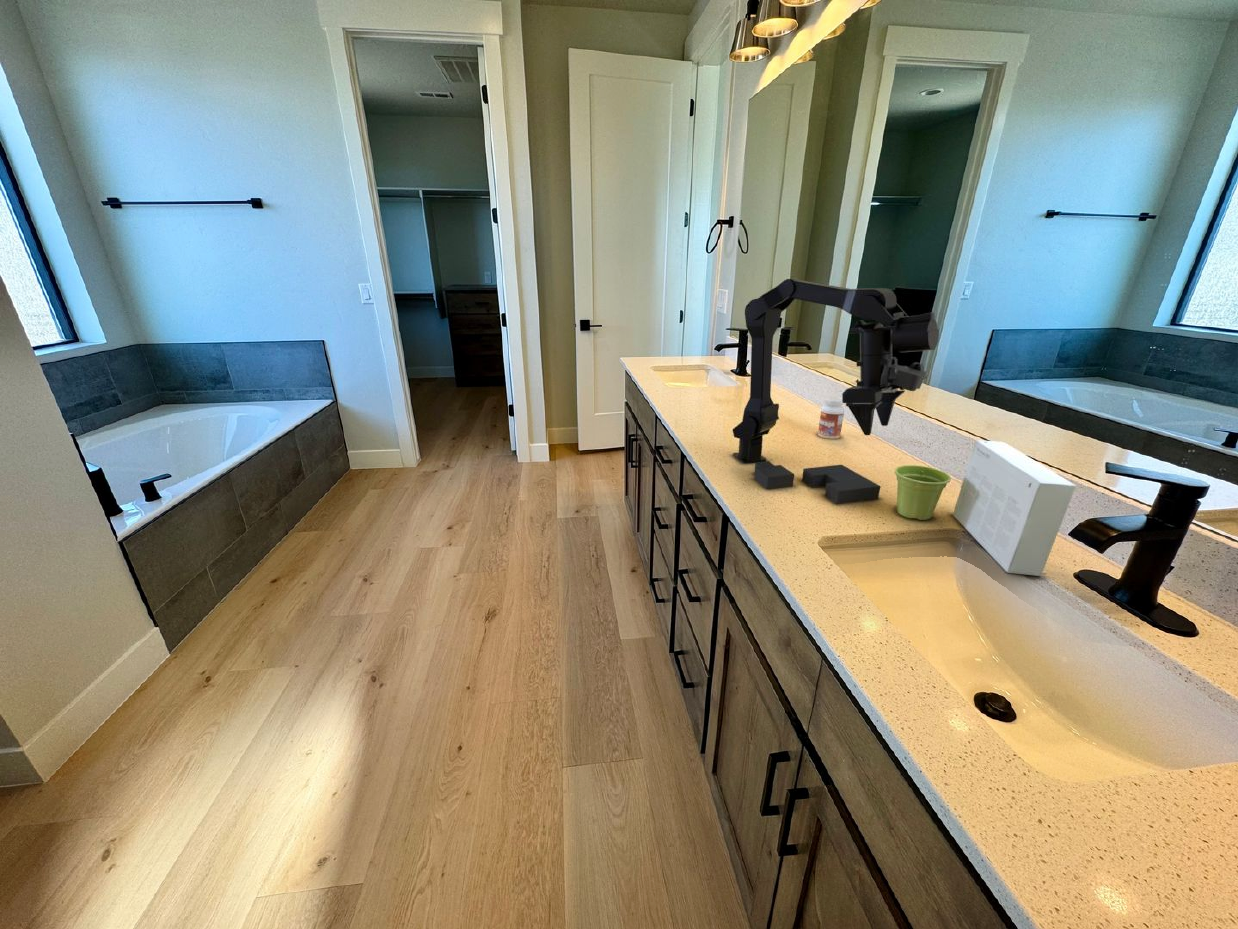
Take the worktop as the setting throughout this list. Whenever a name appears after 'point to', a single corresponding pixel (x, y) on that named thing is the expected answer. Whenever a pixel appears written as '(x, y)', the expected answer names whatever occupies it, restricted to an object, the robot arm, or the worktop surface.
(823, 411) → the pill bottle
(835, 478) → the charcoal pad
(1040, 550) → the skincare box
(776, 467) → the black pad
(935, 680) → the worktop surface
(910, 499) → the plant pot
